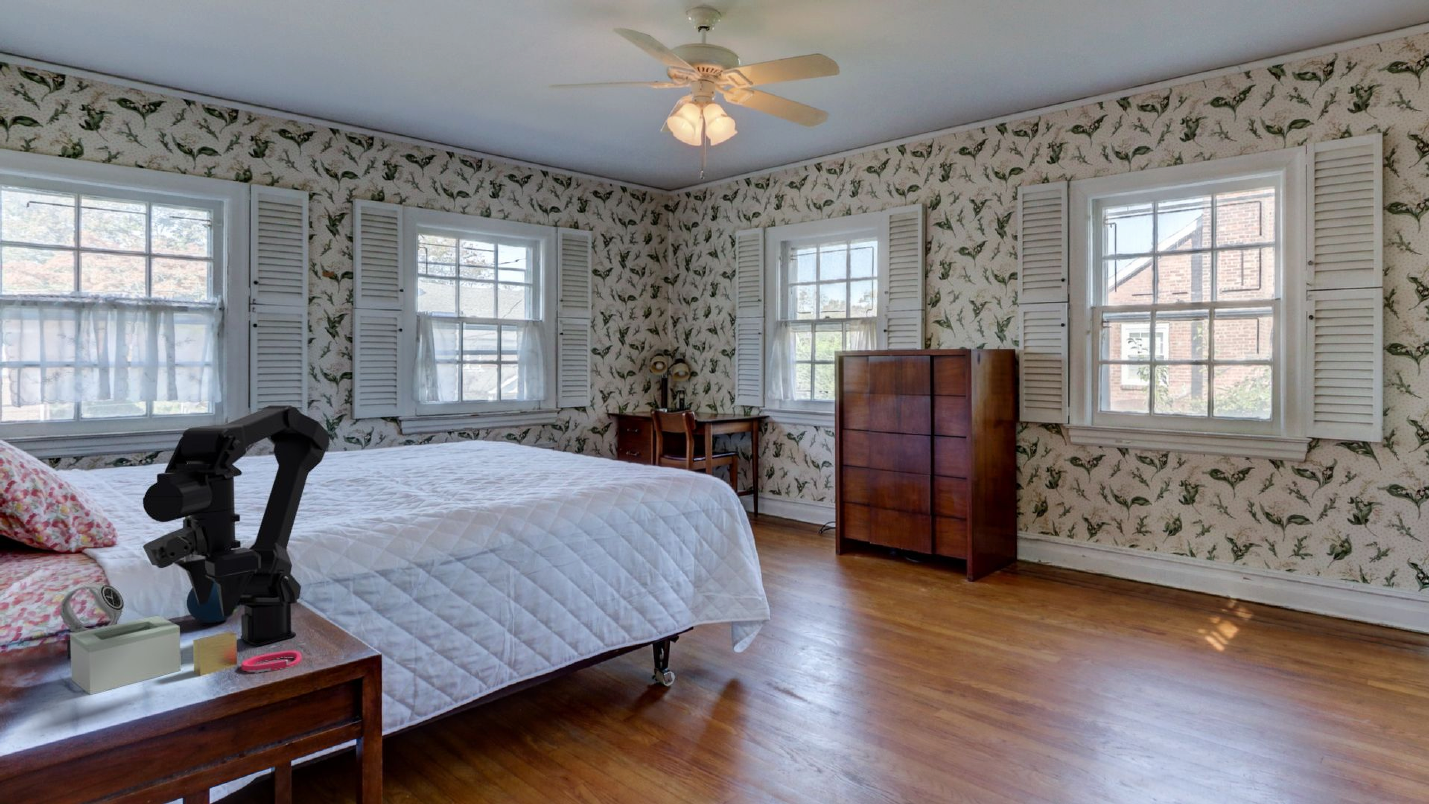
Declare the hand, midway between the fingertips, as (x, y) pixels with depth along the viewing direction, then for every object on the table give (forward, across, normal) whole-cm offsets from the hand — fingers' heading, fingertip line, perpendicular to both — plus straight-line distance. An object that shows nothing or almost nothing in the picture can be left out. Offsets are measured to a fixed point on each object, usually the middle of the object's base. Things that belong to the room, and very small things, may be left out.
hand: (214, 609), depth 116 cm
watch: (+9, -24, -9) cm, 27 cm away
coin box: (+9, -8, -9) cm, 15 cm away
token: (+9, 0, 0) cm, 9 cm away
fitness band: (+10, +5, +6) cm, 12 cm away
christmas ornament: (+10, -25, +9) cm, 28 cm away
